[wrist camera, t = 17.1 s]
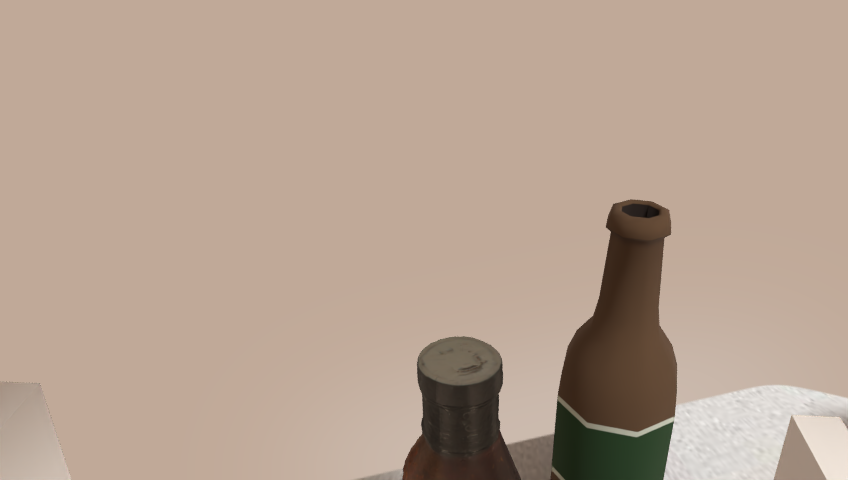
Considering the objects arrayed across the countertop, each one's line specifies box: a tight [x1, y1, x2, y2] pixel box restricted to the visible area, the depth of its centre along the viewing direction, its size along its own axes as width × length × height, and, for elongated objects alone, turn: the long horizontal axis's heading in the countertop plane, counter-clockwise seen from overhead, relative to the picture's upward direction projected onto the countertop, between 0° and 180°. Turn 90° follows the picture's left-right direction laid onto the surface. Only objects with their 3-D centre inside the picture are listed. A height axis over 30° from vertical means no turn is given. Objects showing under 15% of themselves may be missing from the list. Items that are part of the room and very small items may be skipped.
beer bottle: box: [551, 200, 677, 480], centre depth 46 cm, size 8×8×24 cm
